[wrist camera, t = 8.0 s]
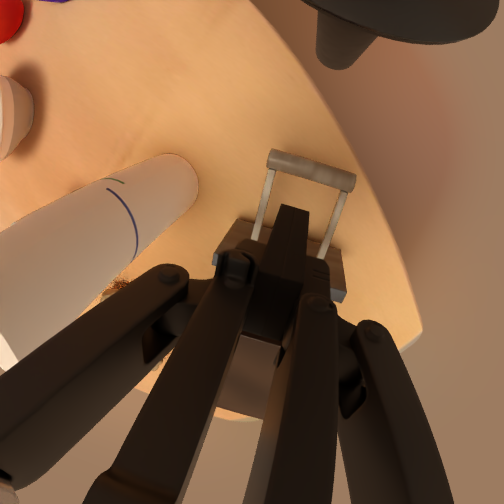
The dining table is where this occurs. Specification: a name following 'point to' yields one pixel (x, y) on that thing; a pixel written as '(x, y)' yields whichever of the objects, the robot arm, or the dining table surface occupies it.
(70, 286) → the cylindrical container
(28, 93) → the bowl
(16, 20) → the tomato
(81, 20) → the dining table surface
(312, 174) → the drawer
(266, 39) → the dining table surface
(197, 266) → the dining table surface
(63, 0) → the bottle
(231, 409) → the cabinet
